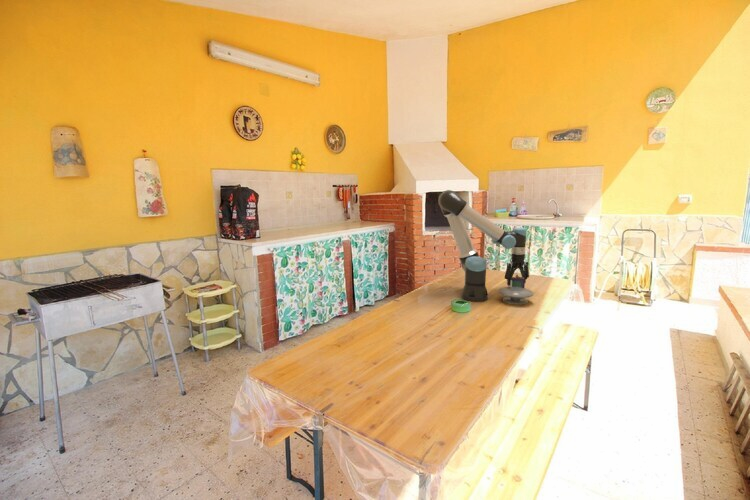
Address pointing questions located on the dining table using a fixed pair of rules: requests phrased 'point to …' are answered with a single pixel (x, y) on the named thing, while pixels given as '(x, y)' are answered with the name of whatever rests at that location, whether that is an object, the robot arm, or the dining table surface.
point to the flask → (518, 281)
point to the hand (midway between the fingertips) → (516, 289)
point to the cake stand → (515, 295)
